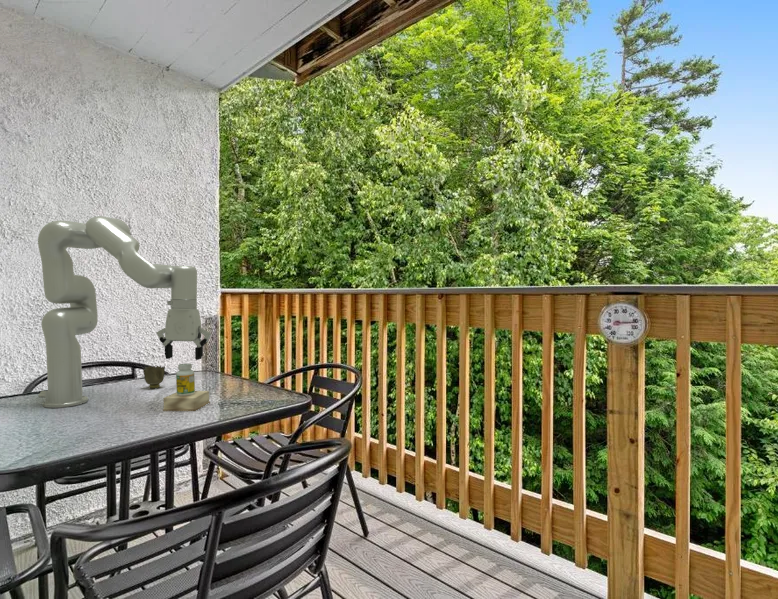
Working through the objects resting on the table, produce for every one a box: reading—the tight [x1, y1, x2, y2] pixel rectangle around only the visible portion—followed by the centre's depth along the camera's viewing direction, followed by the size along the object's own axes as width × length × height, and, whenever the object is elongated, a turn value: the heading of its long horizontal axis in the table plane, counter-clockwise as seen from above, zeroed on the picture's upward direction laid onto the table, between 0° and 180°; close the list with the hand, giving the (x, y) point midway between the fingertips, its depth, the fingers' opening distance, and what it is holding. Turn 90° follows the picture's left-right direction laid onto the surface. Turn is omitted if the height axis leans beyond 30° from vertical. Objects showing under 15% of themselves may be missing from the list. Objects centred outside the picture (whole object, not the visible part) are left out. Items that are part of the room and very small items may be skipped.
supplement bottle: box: [175, 363, 196, 396], centre depth 158 cm, size 5×5×10 cm
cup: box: [142, 365, 166, 390], centre depth 187 cm, size 8×7×8 cm
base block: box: [162, 390, 211, 412], centre depth 159 cm, size 10×10×4 cm
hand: (183, 358), depth 158 cm, fingers open, 9 cm apart
